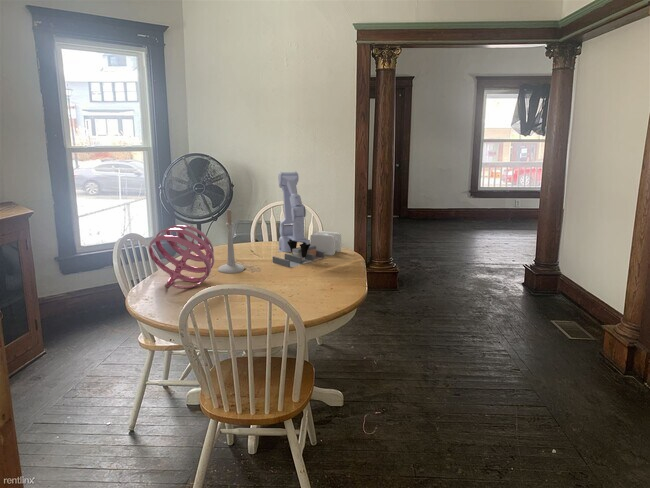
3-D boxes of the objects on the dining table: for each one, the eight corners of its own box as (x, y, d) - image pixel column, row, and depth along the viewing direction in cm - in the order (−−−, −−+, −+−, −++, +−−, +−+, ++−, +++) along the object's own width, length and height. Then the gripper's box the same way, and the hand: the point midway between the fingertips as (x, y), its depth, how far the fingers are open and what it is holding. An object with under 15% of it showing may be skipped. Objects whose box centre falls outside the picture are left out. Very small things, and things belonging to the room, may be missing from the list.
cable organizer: (308, 254, 273) (308, 233, 270) (317, 250, 282) (317, 229, 279) (333, 257, 266) (333, 236, 263) (342, 253, 275) (342, 232, 272)
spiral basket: (168, 255, 193) (199, 207, 210) (121, 263, 207) (153, 217, 224) (210, 300, 209) (236, 252, 226) (164, 304, 223) (191, 258, 241)
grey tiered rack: (271, 263, 254) (271, 256, 253) (307, 255, 271) (307, 247, 270) (289, 269, 244) (289, 261, 243) (325, 259, 261) (325, 252, 261)
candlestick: (239, 274, 236) (236, 211, 229) (213, 272, 239) (210, 210, 232) (248, 266, 249) (246, 206, 242) (224, 265, 251) (221, 205, 244)
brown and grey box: (304, 257, 262) (304, 246, 261) (310, 255, 266) (310, 244, 265) (309, 258, 260) (309, 247, 258) (316, 256, 263) (316, 245, 262)
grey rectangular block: (292, 260, 257) (292, 248, 255) (299, 258, 260) (299, 247, 259) (297, 261, 254) (297, 250, 253) (304, 259, 258) (304, 248, 256)
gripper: (283, 228, 256) (283, 254, 259) (302, 233, 246) (302, 259, 249) (293, 226, 261) (293, 252, 264) (313, 231, 251) (313, 257, 254)
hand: (298, 255), depth 257 cm, fingers open, 7 cm apart
